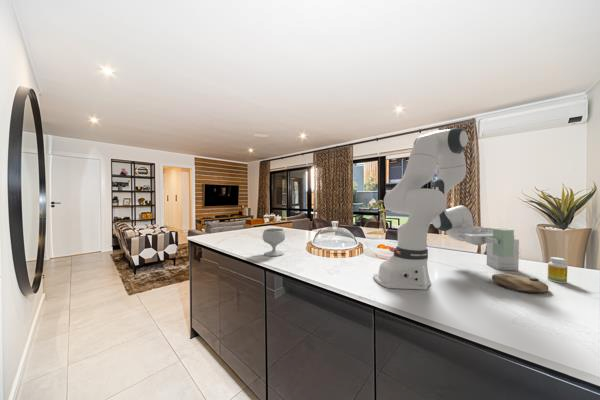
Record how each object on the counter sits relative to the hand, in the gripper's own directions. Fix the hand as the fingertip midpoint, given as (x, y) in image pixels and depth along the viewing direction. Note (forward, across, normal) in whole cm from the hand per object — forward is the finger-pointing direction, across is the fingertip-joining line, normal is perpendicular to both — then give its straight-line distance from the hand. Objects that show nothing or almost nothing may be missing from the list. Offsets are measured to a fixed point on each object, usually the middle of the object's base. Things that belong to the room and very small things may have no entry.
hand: (505, 241), depth 92 cm
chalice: (-54, -96, +17) cm, 112 cm away
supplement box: (-17, +17, +17) cm, 30 cm away
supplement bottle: (+1, +23, +17) cm, 29 cm away
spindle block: (-1, 0, +6) cm, 6 cm away
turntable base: (+4, +2, +17) cm, 17 cm away
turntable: (+3, +2, +16) cm, 17 cm away
